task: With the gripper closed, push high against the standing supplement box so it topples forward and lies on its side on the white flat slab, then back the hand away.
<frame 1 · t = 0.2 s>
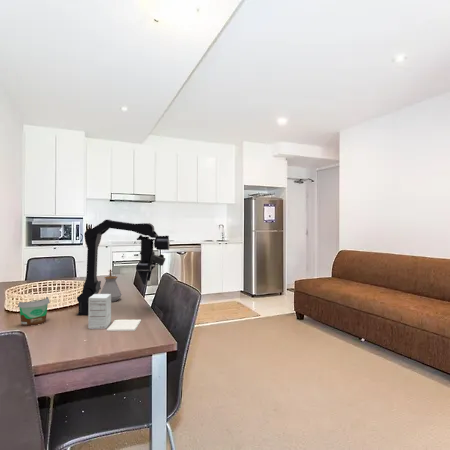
hand: (146, 282, 153), 14 cm above the table, tool pointing down, fingers open, 9 cm apart
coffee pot: (110, 298, 181), on the table
supplement box: (99, 326, 133), on the table
food container: (36, 324, 135), on the table
white flat slab: (124, 325, 134), on the table
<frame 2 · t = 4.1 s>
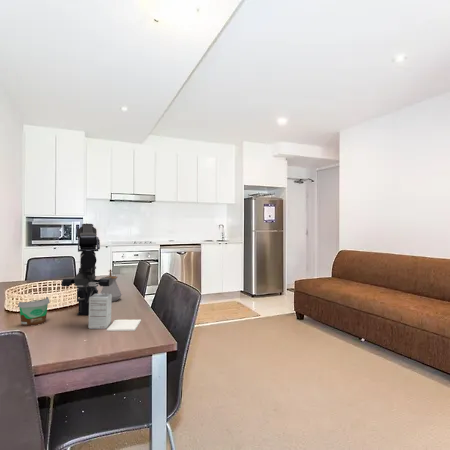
hand: (87, 302, 133), 10 cm above the table, tool pointing down, fingers closed
supplement box: (99, 326, 133), on the table, touching gripper
everything else where it was.
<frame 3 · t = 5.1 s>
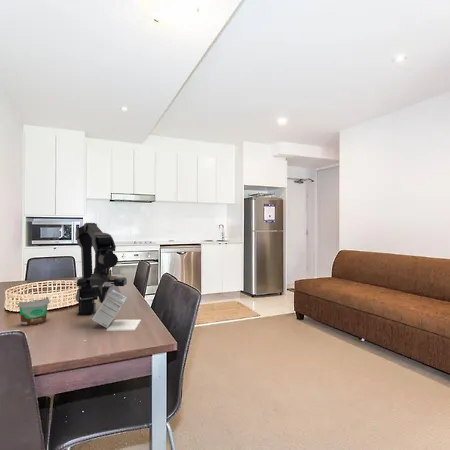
hand: (102, 302, 133), 10 cm above the table, tool pointing down, fingers closed
supplement box: (101, 321, 133), point 2 cm above the table, touching gripper
everything else where it was.
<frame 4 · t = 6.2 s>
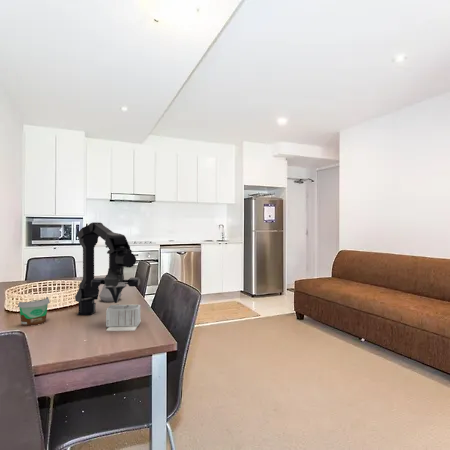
hand: (115, 302, 133), 10 cm above the table, tool pointing down, fingers closed
supplement box: (107, 315, 133), point 4 cm above the table, touching white flat slab
everything else where it was.
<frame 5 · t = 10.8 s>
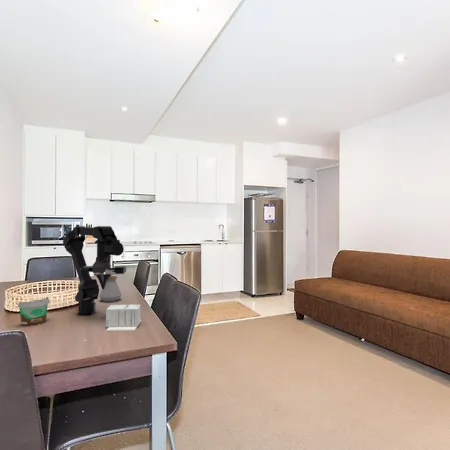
hand: (103, 289, 144), 13 cm above the table, tool pointing down, fingers closed
nothing on the table moved.
at the end: supplement box tilted 90°; supplement box touching white flat slab; the gripper is holding nothing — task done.
